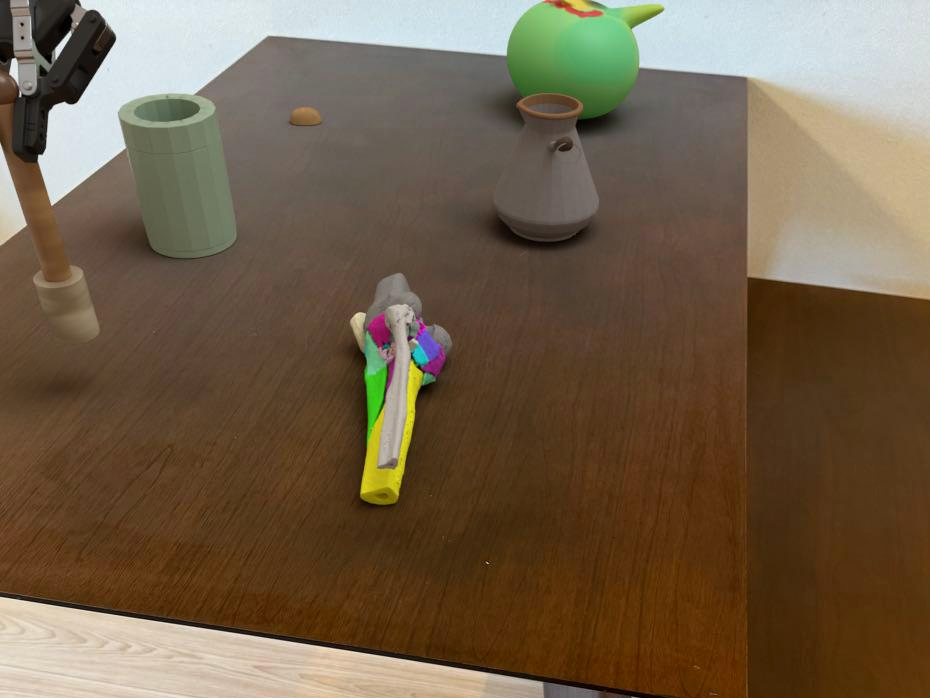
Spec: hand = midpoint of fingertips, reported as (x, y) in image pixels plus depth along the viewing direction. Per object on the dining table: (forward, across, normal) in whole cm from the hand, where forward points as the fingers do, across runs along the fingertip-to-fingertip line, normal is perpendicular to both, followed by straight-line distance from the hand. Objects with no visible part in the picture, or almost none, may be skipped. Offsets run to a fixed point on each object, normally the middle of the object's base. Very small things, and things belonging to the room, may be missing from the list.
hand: (4, 156), depth 65 cm
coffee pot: (-8, +38, +36) cm, 53 cm away
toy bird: (-36, +40, +64) cm, 84 cm away
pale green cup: (-6, +1, +35) cm, 35 cm away
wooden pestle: (+9, 0, +12) cm, 15 cm away
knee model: (+13, +25, +15) cm, 32 cm away
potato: (-30, +6, +59) cm, 66 cm away
